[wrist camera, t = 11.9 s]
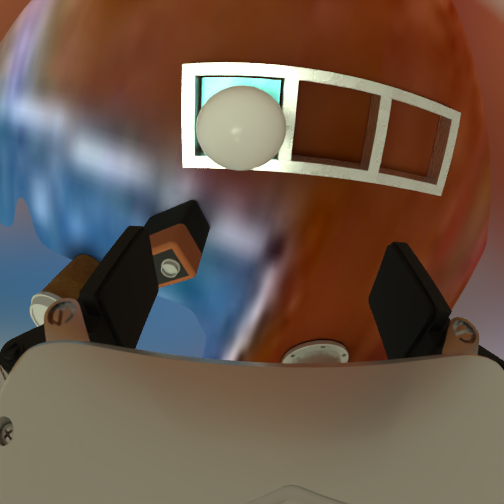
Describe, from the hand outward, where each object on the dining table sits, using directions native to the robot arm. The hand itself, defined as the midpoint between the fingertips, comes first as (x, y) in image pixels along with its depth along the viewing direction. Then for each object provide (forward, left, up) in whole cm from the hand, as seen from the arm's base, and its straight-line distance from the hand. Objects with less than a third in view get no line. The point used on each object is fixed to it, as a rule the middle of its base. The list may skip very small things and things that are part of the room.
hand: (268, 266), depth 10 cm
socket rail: (+3, -7, -20) cm, 21 cm away
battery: (-10, +9, -20) cm, 24 cm away
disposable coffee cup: (-19, +25, -20) cm, 37 cm away
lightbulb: (+3, +2, -20) cm, 20 cm away
